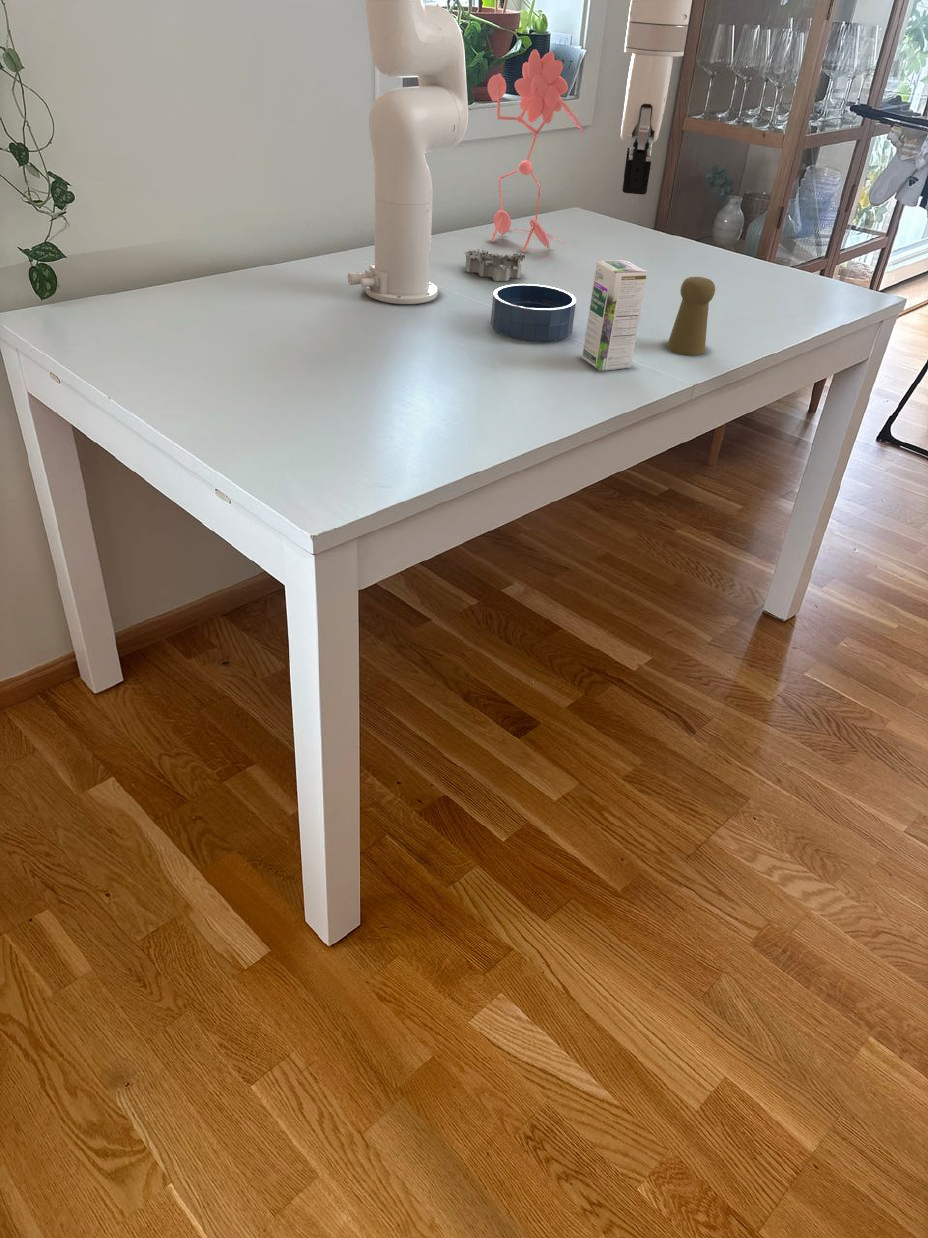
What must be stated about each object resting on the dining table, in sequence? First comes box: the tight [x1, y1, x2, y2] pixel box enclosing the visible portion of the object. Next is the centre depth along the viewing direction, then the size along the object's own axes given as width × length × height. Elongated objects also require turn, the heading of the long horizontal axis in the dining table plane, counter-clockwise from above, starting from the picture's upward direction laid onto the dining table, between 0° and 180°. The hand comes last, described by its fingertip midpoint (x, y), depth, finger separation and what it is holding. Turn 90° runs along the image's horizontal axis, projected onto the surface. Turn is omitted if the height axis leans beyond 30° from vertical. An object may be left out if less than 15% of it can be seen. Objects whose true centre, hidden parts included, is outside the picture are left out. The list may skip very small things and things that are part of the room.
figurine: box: [486, 48, 585, 259], centre depth 188 cm, size 15×26×35 cm, turn 44°
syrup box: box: [581, 259, 649, 372], centre depth 138 cm, size 6×6×14 cm
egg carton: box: [462, 248, 526, 282], centre depth 177 cm, size 11×8×4 cm
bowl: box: [490, 283, 577, 343], centre depth 151 cm, size 13×13×6 cm
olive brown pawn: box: [666, 276, 716, 356], centre depth 147 cm, size 6×6×11 cm
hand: (634, 186), depth 129 cm, fingers open, 9 cm apart
